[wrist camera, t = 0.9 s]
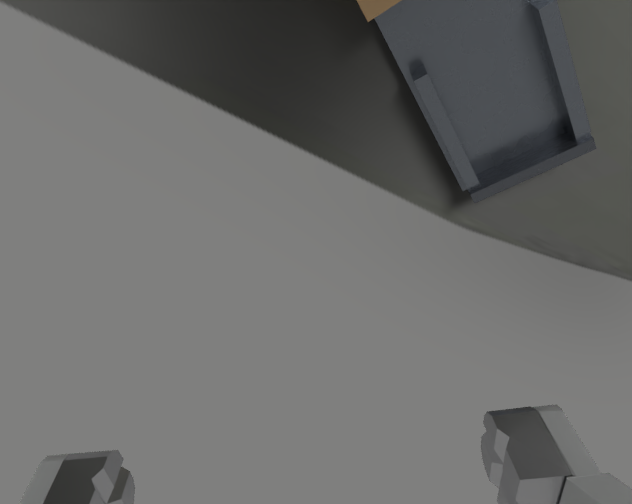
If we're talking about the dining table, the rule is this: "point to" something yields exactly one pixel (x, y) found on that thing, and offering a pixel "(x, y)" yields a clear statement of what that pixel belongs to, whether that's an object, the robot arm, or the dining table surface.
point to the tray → (491, 86)
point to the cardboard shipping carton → (375, 7)
